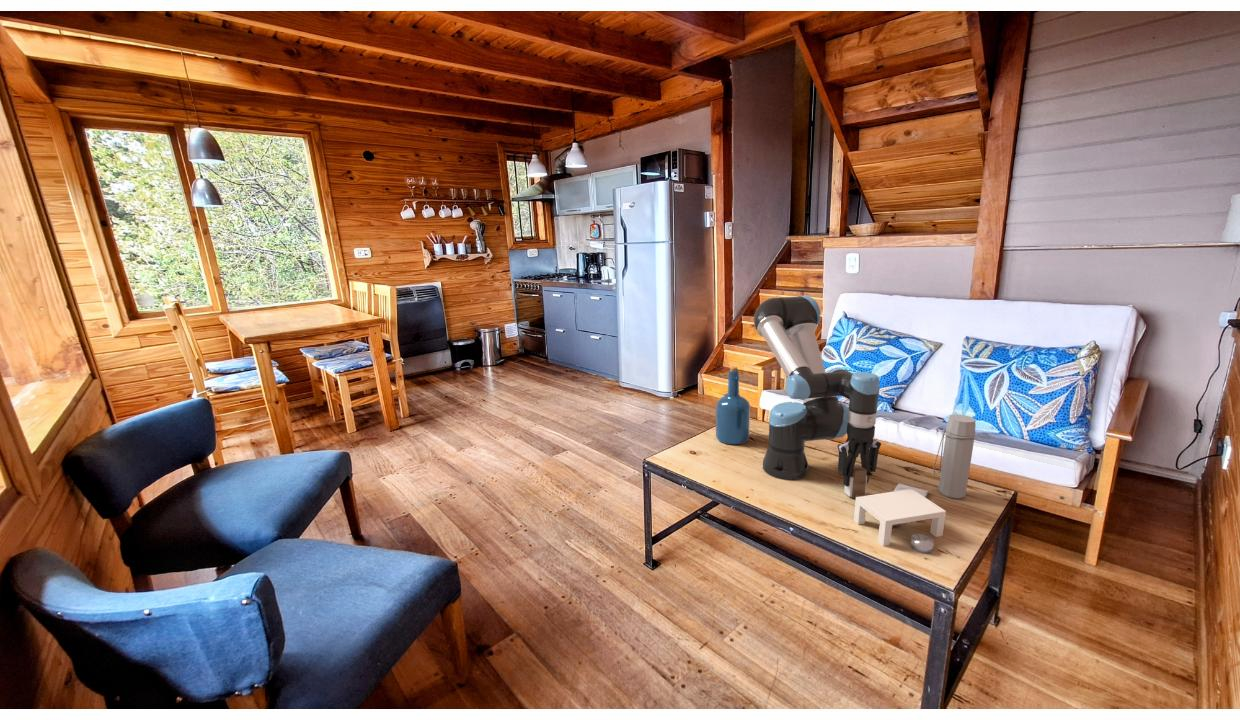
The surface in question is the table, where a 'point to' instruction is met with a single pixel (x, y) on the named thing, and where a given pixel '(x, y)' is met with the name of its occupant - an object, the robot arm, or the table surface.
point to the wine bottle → (733, 413)
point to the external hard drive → (905, 487)
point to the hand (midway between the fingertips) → (854, 493)
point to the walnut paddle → (860, 482)
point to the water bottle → (956, 455)
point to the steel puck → (922, 543)
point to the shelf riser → (899, 511)
